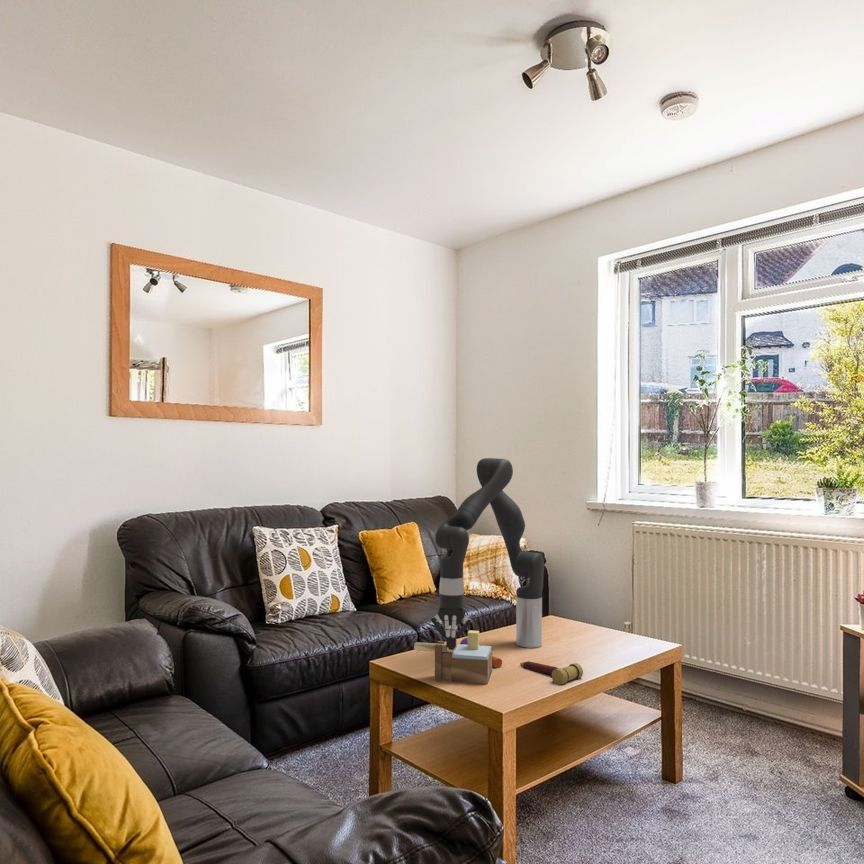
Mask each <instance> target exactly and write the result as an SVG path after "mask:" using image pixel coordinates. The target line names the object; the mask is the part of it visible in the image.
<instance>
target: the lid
mask: <svg viewBox="0 0 864 864" xmlns="http://www.w3.org/2000/svg"><path fill="white" fill-rule="evenodd" d="M467 638H468V645H465V644H460V643H458V644H457V645H456V647H455V648H454V650H453V654H452V658H463V659H478V660H487V659H488V657H489V654H490V652H491V649H492V646H490V645H480V630H470V629H469V630H468V631H467Z"/></svg>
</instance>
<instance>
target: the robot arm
mask: <svg viewBox="0 0 864 864" xmlns="http://www.w3.org/2000/svg"><path fill="white" fill-rule="evenodd" d="M513 472H514V470H513V464H512V463H511V461H510V460H508V459H506V458H497V457H496V458H495V457H493V458H491V457H485V458H481V459H479V461H477V464H476V476H477V479H478V482H479V484H480V486H481V487H480V488H479V489H477V490H476V491H474V492H473V493H472V494H469V496H467V497H466V498H465V499H464V500H463V501H462V503H461V504H460V505H459V507H458V508H457V510H456V511H455V512H454V514H453V515H451V516H450V517H449V518H448V519H446V520H444V522H443V523H442V524H441V525H440V526H439V527H438V529H437V530H436V533H435V536H434V541H435V543H436V546H437V547H438V548H440V549H442V550H443V549H444V550H452V552H451V554H450V556H447V557H445V556H444V557H443V558H442V559H441V560H440V578H439V588H438V591H439V593H438V594H439V598H438V599H439V601H438V605H439V606H438V607H439V608H438V611H437V614H436V615H435V616H432V617H431V619H430V621H431V624H433V626H434V627H435V628H436V630H437V632H439V634H440V635H441V636H444V637H446V638H445V639H446V640H445V641H446V643H445V644H446V646H447V648H448V651H455V649H456V647H457V637H460V636H462V634H463V633H464V632H465V631H466V630H467V628H468V627H469V625H470V624H471V623H472V622H473V619H472V618H469V617H468V616H467V615H466V612H465V608H464V607H465V592H464V591H465V583H464V582H465V581H464V562H465V559H466V555H467V551H468V547H469V543H470V536H469V533H468V531H469V530H471V529H473V527H474V526H475V524H476V523H477V522H478V520H479V518H480V516H481V515H482V514H483V512H484V511H485V509H486V508H487V507H488V506H489V505H490V507H491V508H492V509H491V510H492V512H493V514H494V517H495V521H496V523H497V525H498V528H499V531H500V533H501V536H502V538H503V541H504V545H505V547H506V552H507V553H508V554H507V555H508V560H509V562H510V567H511V570H512V571H513V572H512V573H513V574H514V575H515V576H517V577H520V578H527V579H529V581H528V584H526V585H523V586H519V587H517V589H516V595H515V596H516V602H515V603H516V604H515V605H516V607H515V608H516V609H515V610H516V612H515V613H516V614H515V615H516V616H515V617H516V619H515V620H516V622H515V624H516V625H515V631H516V634H515V640H516V641H515V643H516V646H519V647H522V648H526V649H527V648H529V649H530V648H533V649H534V648H539V647H541V646H542V643H543V639H542V638H543V633H542V632H543V630H542V629H543V589H544V574H545V573H544V571H545V562H544V557H543V555H542V554H541V553H538V552H529V551H524V550H523V548H522V547H521V543H520V542H521V539H522V537H523V535H524V532H525V529H526V523H525V518H524V517H523V513H522V511H521V508H520V507H519V506H518V504H517V503H516V501H514V500H513V498H511V497H510V496H509V495H508V494H507V493H506V492H505V491H504V489H506V487H507V486H508V485H509V483H511V480H512V477H513ZM440 621H441V622H440ZM461 622H463V624H462V626H461V628H460V629H459V630H458V626H459V625H460V623H461ZM442 624H443V625H444V626H443V625H442Z"/></svg>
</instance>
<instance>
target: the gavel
mask: <svg viewBox="0 0 864 864" xmlns="http://www.w3.org/2000/svg"><path fill="white" fill-rule="evenodd" d="M519 664H520V666H522V667H523V668H525V669H526V670H530V671H534V672H538V673H542V674H548V675H551V680H552V681H553V683H555V684H558V685H560V686H561V685H564V684H567V683H568V682H569V681H573V680H575V678H576V679H577V680H578V679H581V678H582V677H583V675H584V670H583V667H582V665H581V664H580V663H578V662H574V663H570V664H569V665H568V666H565V667H556V666H553V665H547V664H542V663H539V662H535V661H534V662H533V661H529V660H527V661H523V662H520V663H519Z"/></svg>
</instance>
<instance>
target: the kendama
mask: <svg viewBox="0 0 864 864" xmlns="http://www.w3.org/2000/svg"><path fill="white" fill-rule="evenodd" d="M459 644H465V645H468V637H464V638H463V639H461V641H460V642H459ZM502 666H503V660H502V658H499V657H496V656H493V655H492V668H495V669H501V667H502Z"/></svg>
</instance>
